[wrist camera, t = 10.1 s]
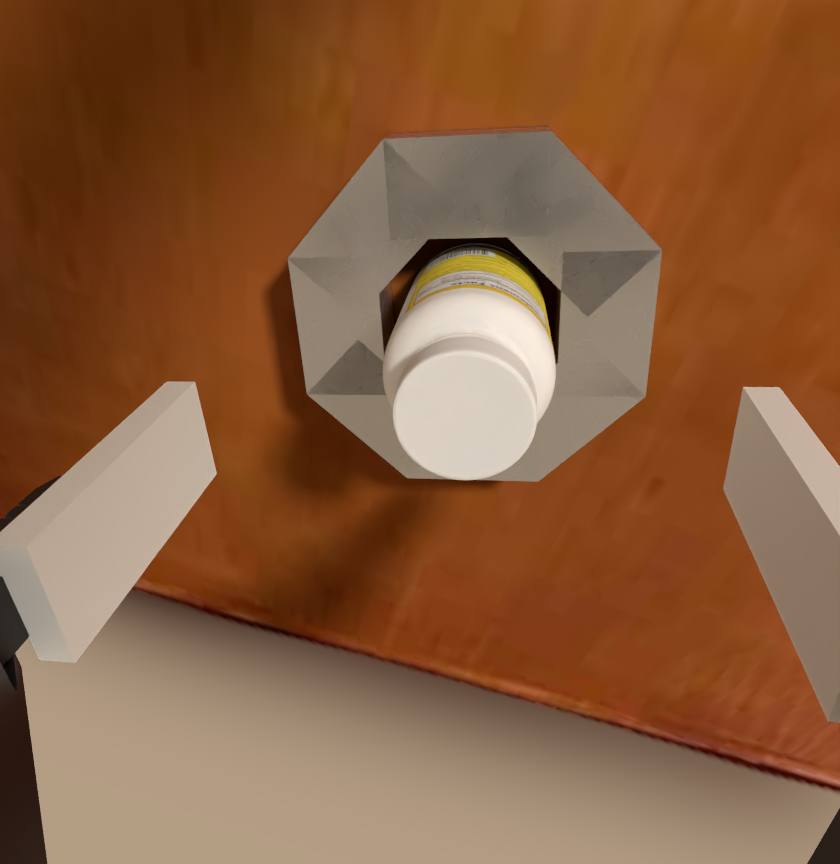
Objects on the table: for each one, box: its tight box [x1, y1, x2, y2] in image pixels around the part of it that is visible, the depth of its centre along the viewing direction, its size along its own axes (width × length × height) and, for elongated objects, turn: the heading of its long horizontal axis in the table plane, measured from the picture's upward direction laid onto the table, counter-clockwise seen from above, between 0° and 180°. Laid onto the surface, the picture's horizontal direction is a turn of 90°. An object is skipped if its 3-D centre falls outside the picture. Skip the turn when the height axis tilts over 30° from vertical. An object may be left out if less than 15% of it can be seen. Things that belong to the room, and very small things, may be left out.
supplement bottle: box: [383, 243, 556, 480], centre depth 22 cm, size 5×5×10 cm
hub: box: [288, 126, 662, 481], centre depth 25 cm, size 13×13×3 cm
